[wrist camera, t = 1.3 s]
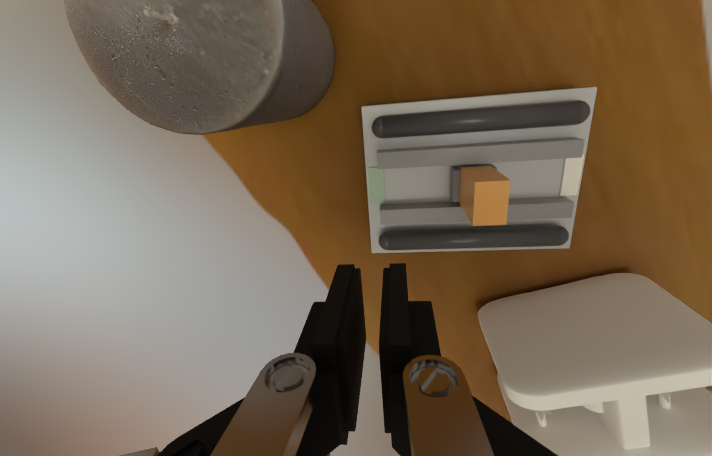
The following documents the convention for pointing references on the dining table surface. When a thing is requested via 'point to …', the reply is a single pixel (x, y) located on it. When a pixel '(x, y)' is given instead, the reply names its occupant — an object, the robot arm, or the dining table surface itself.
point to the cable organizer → (604, 367)
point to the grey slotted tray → (476, 147)
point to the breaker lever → (481, 193)
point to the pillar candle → (207, 59)
